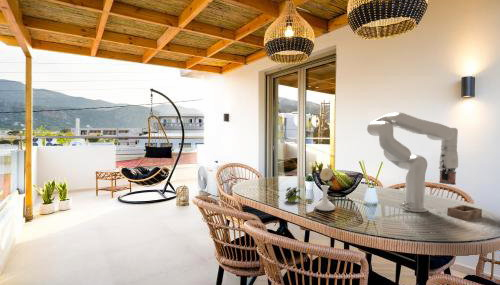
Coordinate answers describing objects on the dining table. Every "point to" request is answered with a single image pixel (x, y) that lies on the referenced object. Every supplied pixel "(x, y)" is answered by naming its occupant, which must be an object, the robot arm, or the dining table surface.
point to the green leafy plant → (292, 194)
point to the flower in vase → (325, 191)
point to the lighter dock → (464, 212)
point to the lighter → (449, 177)
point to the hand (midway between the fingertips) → (447, 179)
